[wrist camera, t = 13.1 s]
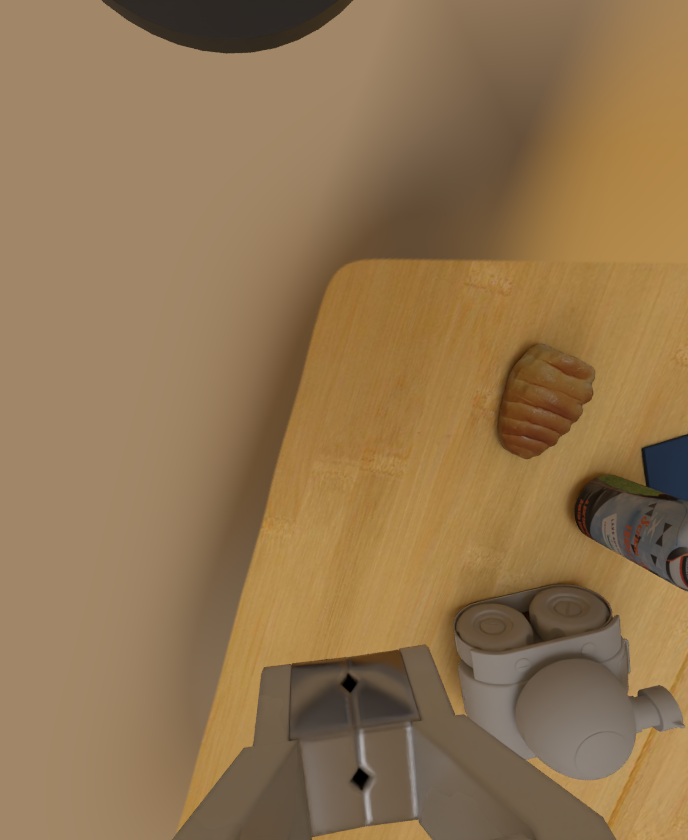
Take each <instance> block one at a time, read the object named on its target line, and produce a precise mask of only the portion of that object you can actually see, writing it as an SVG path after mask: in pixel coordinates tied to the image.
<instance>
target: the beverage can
mask: <svg viewBox="0 0 688 840" xmlns="http://www.w3.org/2000/svg"><path fill="white" fill-rule="evenodd" d="M575 520H576V523H577V526H578V528H579V529H580V531H581V532H582V533H583V534H585V535H586V536H588V537H589V538H591V539H593V540H595V541H596V542H598V543H600V544H602V545H604V546H605V547H607V548H609V549H611V550H613V551H614V552H616V553H618V554H620V555H622V556H623V557H625V558H627V559H629V560H631V561H632V562H634V563H636V564H638V565H639V566H641V567H643V568H645V569H647V570H648V571H650V572H652V573H654V574H656V575H657V576H659V577H661V578H663V579H665V580H666V581H668V582H670V583H672V584H673V585H675V586H677V587H679V588H681V589H683V590H685V591H688V502H687V501H685V500H682V499H679V498H676V497H674V496H671V495H668V494H665V493H662V492H660V491H657V490H654V489H651V488H649V487H646V486H643V485H640V484H638V483H635V482H632V481H629V480H627V479H624V478H621V477H618V476H615V475H603V476H600V477H597V478H595V479H593V480H592V481H591V482H589V483H588V484H587V485H586V486H585V487H584V488H583V490H582V491H581V493H580V495H579V497H578V499H577V502H576V506H575Z"/></svg>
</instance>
